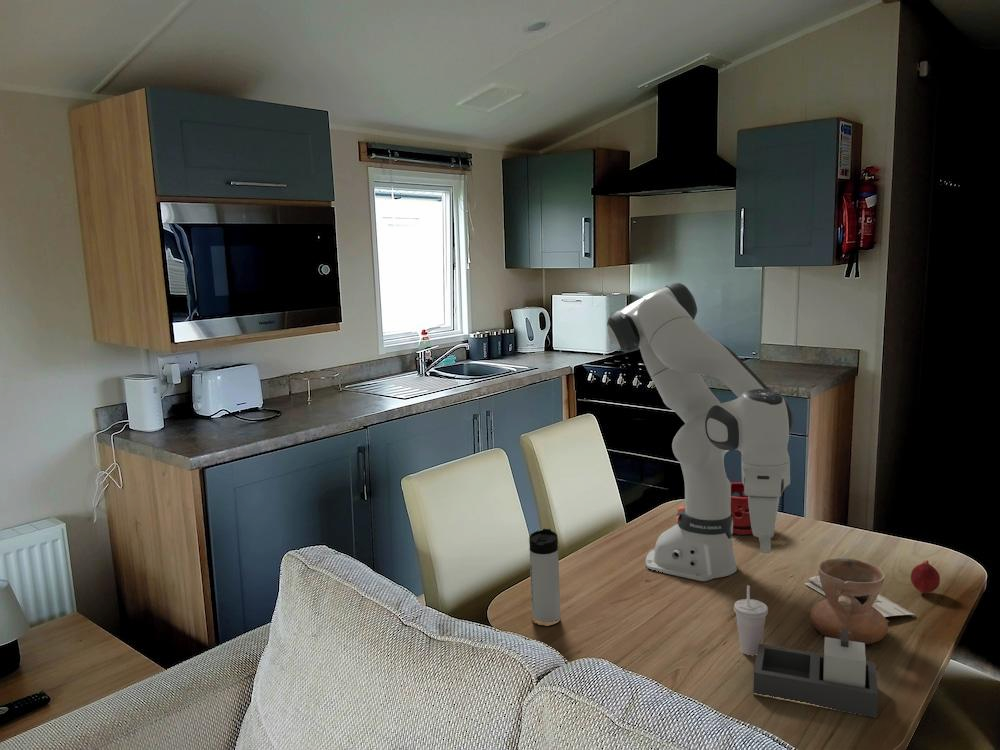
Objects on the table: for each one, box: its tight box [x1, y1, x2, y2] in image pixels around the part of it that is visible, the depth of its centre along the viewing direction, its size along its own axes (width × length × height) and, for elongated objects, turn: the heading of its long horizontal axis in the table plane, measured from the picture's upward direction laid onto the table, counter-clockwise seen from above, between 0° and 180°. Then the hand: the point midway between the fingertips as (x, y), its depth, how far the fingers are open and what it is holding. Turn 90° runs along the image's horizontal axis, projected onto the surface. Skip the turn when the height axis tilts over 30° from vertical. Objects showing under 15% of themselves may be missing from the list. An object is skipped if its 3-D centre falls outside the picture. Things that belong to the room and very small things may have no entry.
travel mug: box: [528, 528, 561, 622], centre depth 165 cm, size 6×7×20 cm
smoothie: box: [733, 584, 769, 655], centre depth 149 cm, size 6×6×14 cm
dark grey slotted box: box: [753, 629, 879, 719], centre depth 139 cm, size 20×16×10 cm
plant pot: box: [730, 481, 753, 536], centre depth 213 cm, size 13×13×12 cm
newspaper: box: [804, 575, 917, 623], centre depth 169 cm, size 23×12×2 cm, turn 14°
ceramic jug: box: [809, 557, 889, 645], centre depth 155 cm, size 18×14×14 cm
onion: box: [910, 559, 941, 595], centre depth 170 cm, size 6×6×8 cm
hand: (767, 542), depth 147 cm, fingers open, 8 cm apart
